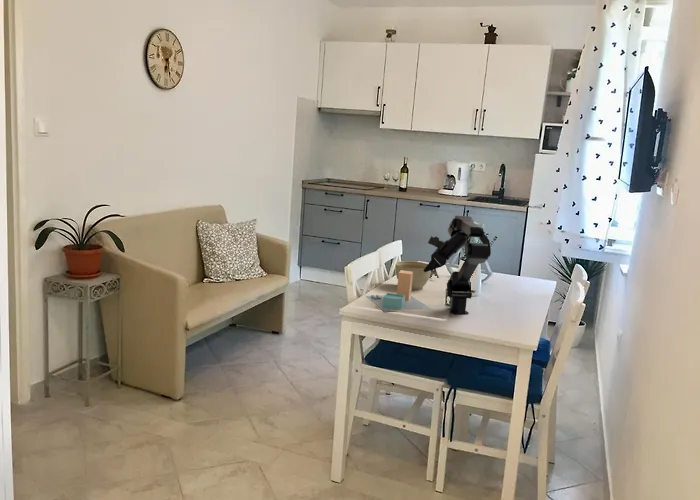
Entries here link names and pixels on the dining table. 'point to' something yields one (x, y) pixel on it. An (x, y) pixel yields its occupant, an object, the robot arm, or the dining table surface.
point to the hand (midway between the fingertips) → (425, 269)
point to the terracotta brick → (405, 284)
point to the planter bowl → (414, 272)
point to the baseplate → (406, 307)
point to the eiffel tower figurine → (434, 273)
